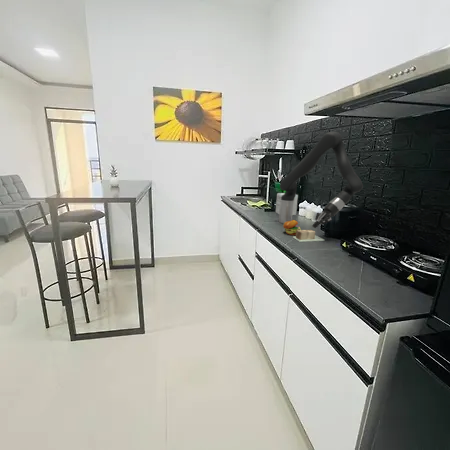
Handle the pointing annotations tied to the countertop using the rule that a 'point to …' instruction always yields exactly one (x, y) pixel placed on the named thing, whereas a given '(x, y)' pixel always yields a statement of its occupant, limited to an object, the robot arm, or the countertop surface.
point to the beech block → (305, 234)
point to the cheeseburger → (291, 227)
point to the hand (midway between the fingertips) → (313, 227)
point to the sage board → (310, 239)
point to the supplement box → (278, 203)
